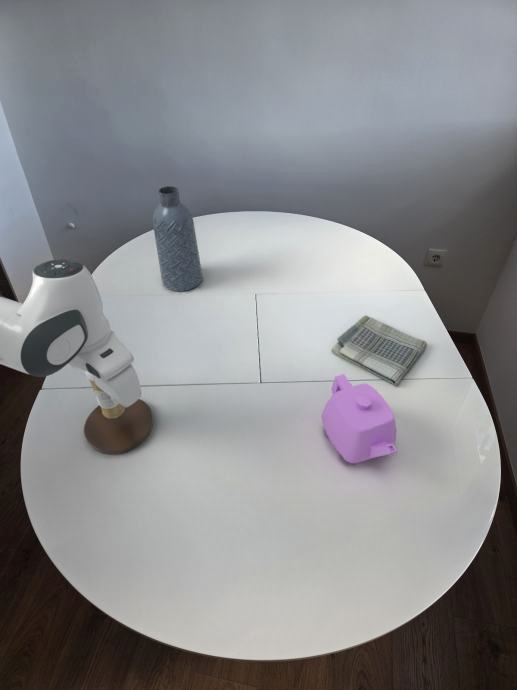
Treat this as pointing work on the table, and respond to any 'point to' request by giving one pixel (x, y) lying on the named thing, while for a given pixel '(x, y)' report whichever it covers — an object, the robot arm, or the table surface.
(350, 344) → the dish towel
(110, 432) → the disc
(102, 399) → the sprinkles bottle
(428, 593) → the table surface
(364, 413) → the teapot
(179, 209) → the vase
